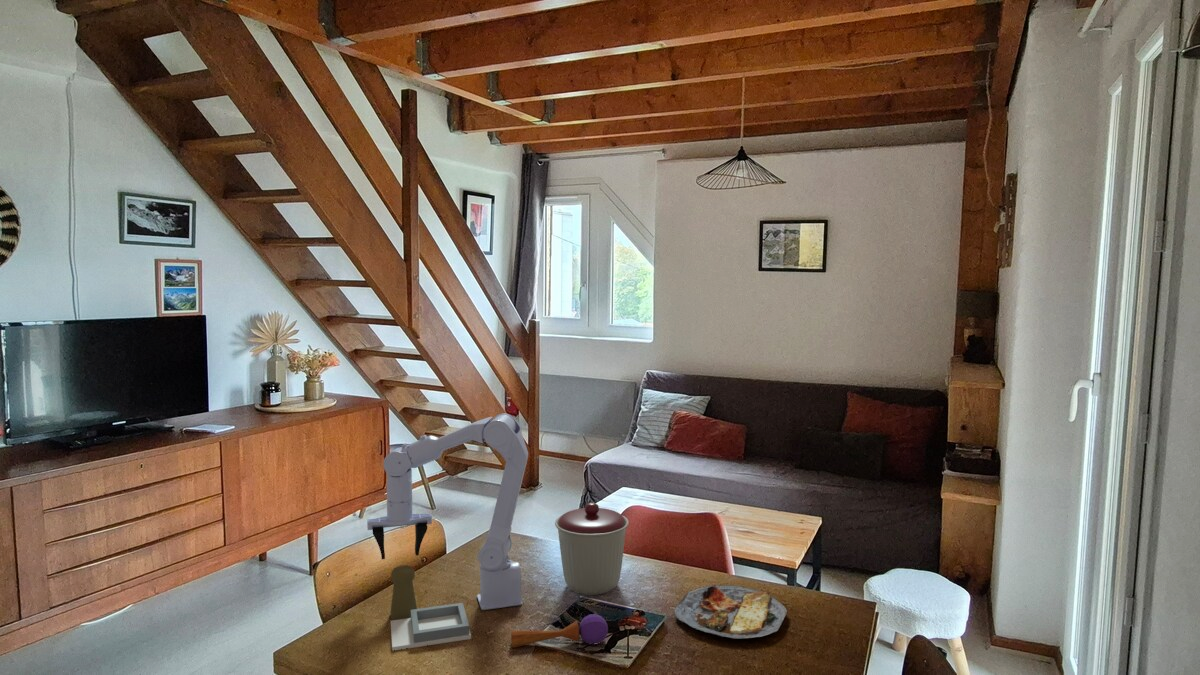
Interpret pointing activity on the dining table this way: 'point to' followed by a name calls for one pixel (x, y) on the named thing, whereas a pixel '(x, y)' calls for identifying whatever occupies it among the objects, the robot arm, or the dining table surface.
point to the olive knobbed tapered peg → (402, 592)
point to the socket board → (430, 627)
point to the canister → (591, 548)
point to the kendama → (566, 632)
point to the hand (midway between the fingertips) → (400, 555)
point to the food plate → (717, 604)
